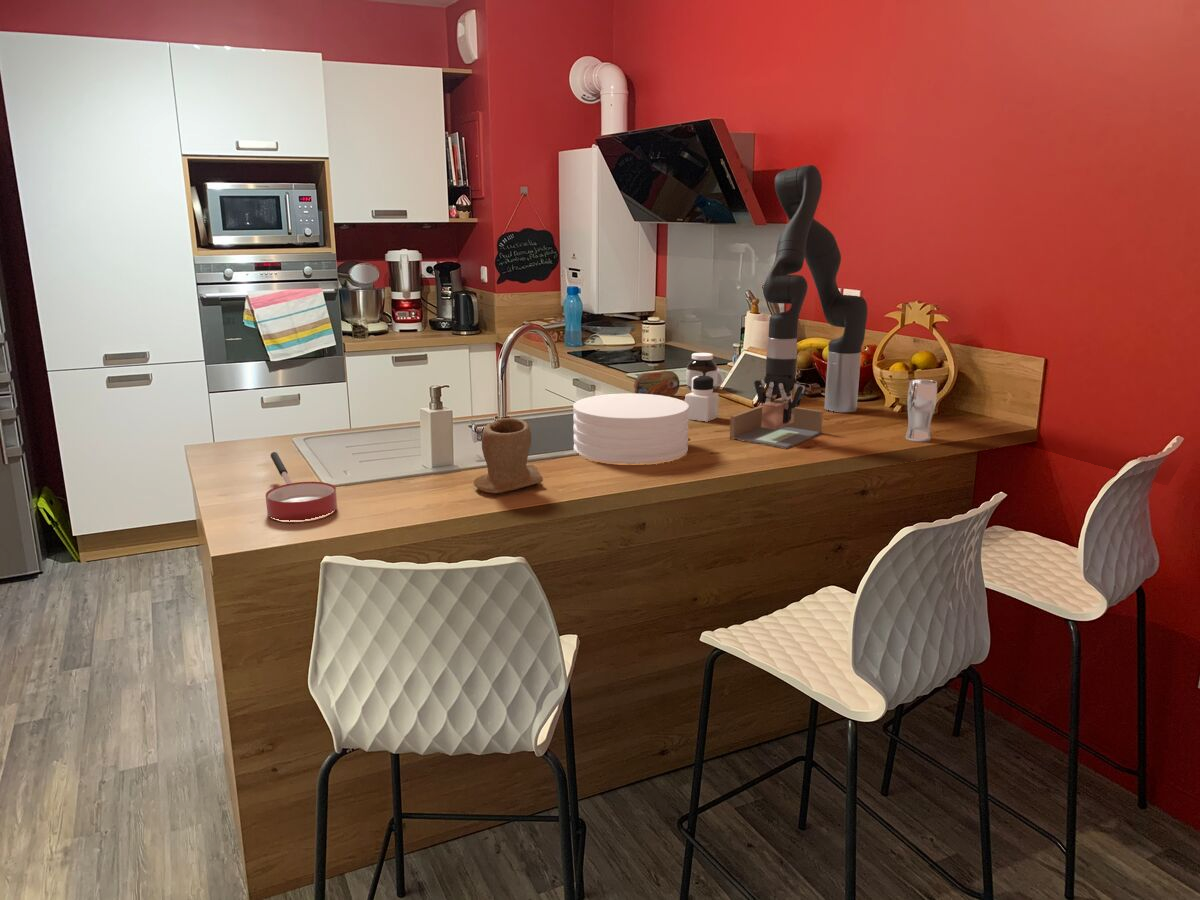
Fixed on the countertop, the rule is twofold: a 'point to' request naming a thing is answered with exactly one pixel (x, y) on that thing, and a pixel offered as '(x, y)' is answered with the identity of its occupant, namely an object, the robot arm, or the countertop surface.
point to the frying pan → (299, 497)
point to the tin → (657, 383)
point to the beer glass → (920, 408)
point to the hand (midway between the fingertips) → (777, 421)
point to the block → (774, 414)
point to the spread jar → (703, 369)
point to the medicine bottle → (702, 399)
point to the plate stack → (631, 428)
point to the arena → (786, 436)
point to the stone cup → (507, 457)
